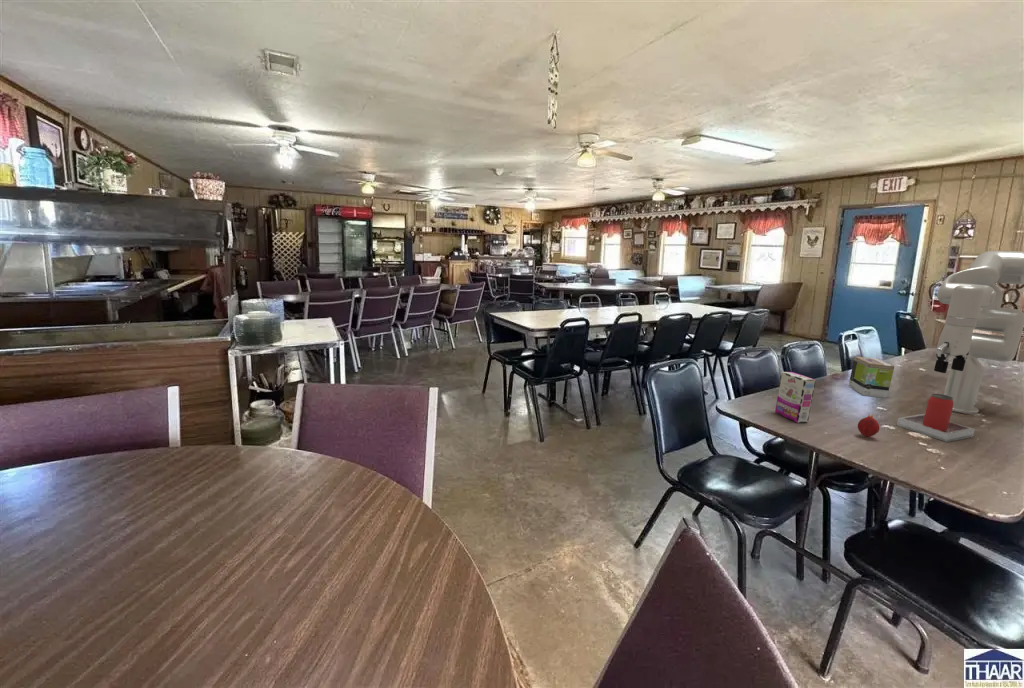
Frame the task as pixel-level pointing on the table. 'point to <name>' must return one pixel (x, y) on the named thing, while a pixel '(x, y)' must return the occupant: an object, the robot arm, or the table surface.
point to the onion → (868, 426)
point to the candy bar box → (795, 396)
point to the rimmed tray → (949, 435)
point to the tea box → (871, 376)
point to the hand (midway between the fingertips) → (948, 371)
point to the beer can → (938, 412)
